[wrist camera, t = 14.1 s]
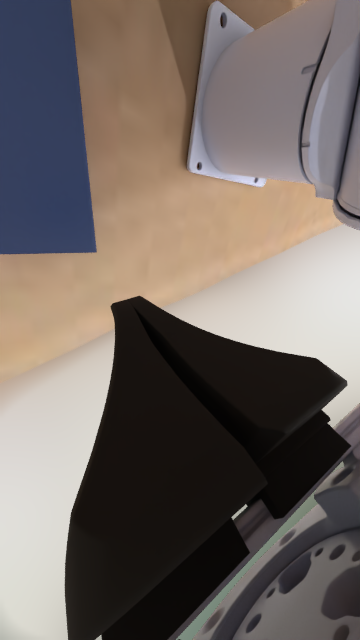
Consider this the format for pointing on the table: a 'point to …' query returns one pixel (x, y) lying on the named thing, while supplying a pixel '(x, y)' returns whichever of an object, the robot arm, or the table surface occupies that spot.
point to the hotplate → (42, 133)
